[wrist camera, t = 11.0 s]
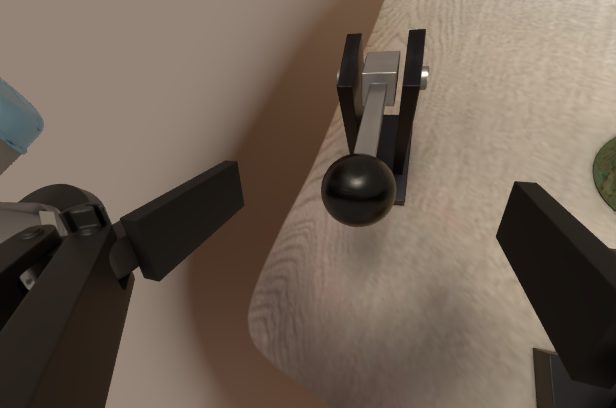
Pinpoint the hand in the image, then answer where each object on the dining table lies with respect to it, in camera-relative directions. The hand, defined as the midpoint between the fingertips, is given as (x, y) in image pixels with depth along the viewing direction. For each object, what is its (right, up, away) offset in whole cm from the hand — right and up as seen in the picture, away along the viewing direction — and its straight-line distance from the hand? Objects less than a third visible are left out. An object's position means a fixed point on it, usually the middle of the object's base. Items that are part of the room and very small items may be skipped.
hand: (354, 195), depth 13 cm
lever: (+2, +3, +4) cm, 5 cm away
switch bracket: (+6, +4, +16) cm, 18 cm away
